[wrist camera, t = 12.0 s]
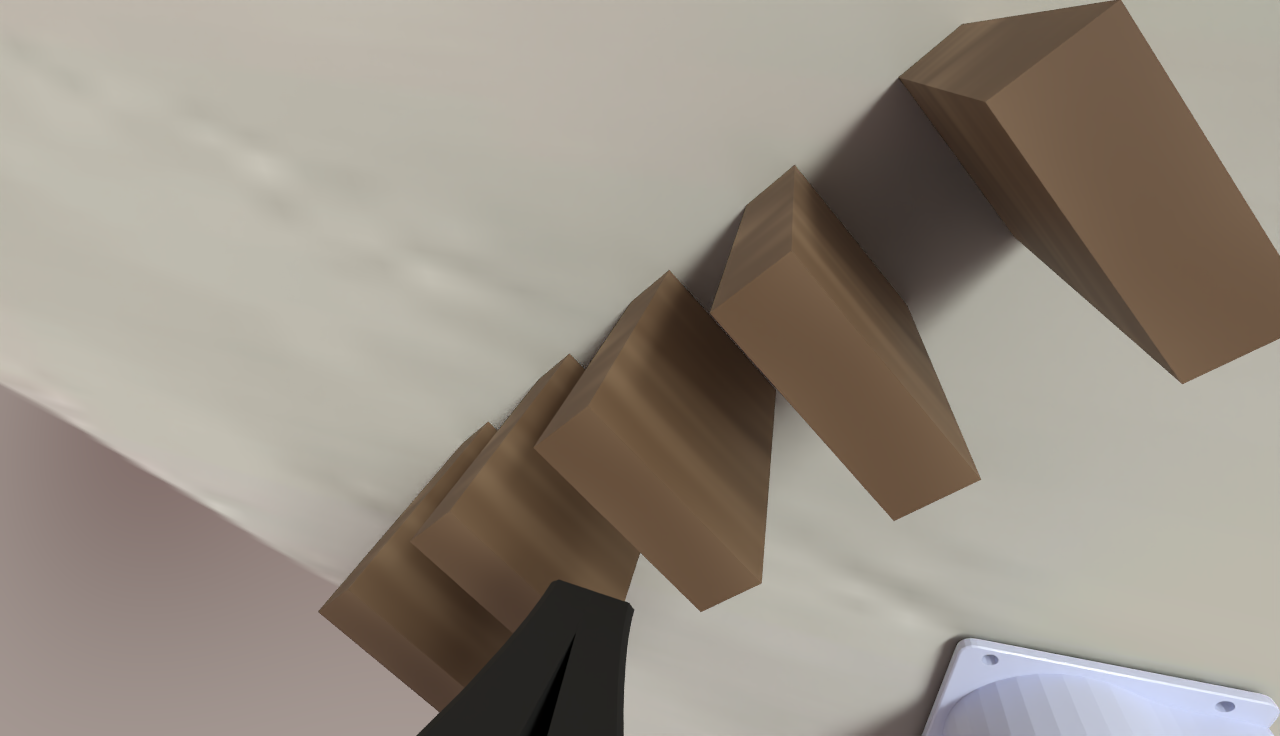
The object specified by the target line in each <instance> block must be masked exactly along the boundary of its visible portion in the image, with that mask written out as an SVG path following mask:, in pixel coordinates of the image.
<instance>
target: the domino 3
mask: <svg viewBox="0 0 1280 736" xmlns="http://www.w3.org/2000/svg"><path fill="white" fill-rule="evenodd" d="M775 396H776V390H775V389H774V388H773V386H772V385H771V384H770V383H769V382H768V381H767V380H766V379H765V377H764V376H763V375H762V374H761V373H760V372H759V371H758V370H757V368H756V367H755V366H754V365H753V364H752V363H751V362H750V361H749V359H748V358H747V357H746V356H745V355H744V354H743V353H742V352H741V350H740V349H739V348H738V347H737V346H736V345H735V344H734V342H733V341H732V340H731V339H730V338H729V337H728V336H727V335H726V333H725V332H724V331H723V330H722V329H721V328H720V327H719V326H718V324H717V323H716V322H715V321H714V320H713V319H712V318H711V317H710V315H709V314H708V313H707V312H706V311H705V310H704V309H703V308H702V306H701V305H700V304H699V303H698V302H697V301H696V300H695V299H694V297H693V296H692V295H691V294H690V293H689V292H688V291H687V290H686V288H685V287H684V286H683V285H682V284H681V283H680V282H679V280H678V279H677V278H676V277H675V276H674V275H673V274H672V273H671V271H670V270H669V271H668V272H666V273H665V274H664V275H663V276H662V277H660V278H659V279H658V280H657V281H656V282H654V283H653V284H652V285H651V286H650V287H648V288H647V289H646V290H645V291H644V292H642V293H641V294H640V295H639V296H638V297H637V298H635V299H634V300H633V301H632V302H631V303H630V305H629V306H628V307H627V309H626V310H625V312H624V313H623V315H622V316H621V318H620V319H619V321H618V322H617V324H616V325H615V327H614V328H613V330H612V331H611V333H610V334H609V336H608V337H607V339H606V340H605V342H604V343H603V345H602V346H601V348H600V349H599V351H598V352H597V354H596V355H595V357H594V358H593V360H592V361H591V362H590V364H589V365H588V367H587V368H586V370H585V371H584V373H583V374H582V376H581V377H580V379H579V380H578V382H577V383H576V385H575V386H574V388H573V389H572V391H571V392H570V394H569V395H568V397H567V398H566V400H565V401H564V403H563V404H562V406H561V407H560V409H559V410H558V412H557V413H556V415H555V416H554V418H553V419H552V420H551V422H550V423H549V425H548V426H547V428H546V429H545V431H544V432H543V434H542V435H541V437H540V438H539V440H538V441H537V443H536V444H535V446H534V447H533V448H534V449H535V450H536V451H537V452H538V453H539V454H540V455H541V456H542V457H543V458H544V459H545V460H546V461H547V462H548V463H549V464H550V465H551V466H552V467H553V468H554V469H556V470H557V471H558V472H559V473H560V474H561V475H562V476H563V477H564V478H565V479H566V480H567V481H568V482H569V483H570V484H571V485H572V486H573V487H574V488H575V489H576V490H577V491H578V492H579V493H580V494H581V495H582V496H583V497H584V498H585V499H586V500H587V501H588V502H589V503H590V504H591V505H592V506H593V507H594V508H595V509H596V510H597V511H598V512H599V513H600V514H601V515H602V516H603V517H605V518H606V519H607V520H608V521H609V522H610V523H611V524H612V525H613V526H614V527H615V528H616V529H617V530H618V531H619V532H620V533H621V534H622V535H623V536H624V537H625V538H626V539H627V540H628V541H629V542H630V543H631V544H632V545H633V546H634V547H635V548H636V549H637V550H638V551H639V552H640V553H641V554H642V555H643V556H644V557H645V558H646V559H647V560H648V561H649V562H650V563H651V564H652V565H653V566H655V567H656V568H657V569H658V570H659V571H660V572H661V573H662V574H663V575H664V576H665V577H666V578H667V579H668V580H669V581H670V582H671V583H672V584H673V585H674V586H675V587H676V588H677V589H678V590H679V591H680V592H681V593H682V594H683V595H684V596H685V597H686V598H687V599H688V600H689V601H690V602H691V603H692V604H693V605H694V606H695V607H696V608H697V609H698V610H699V611H700V612H702V611H704V610H706V609H708V608H710V607H713V606H715V605H717V604H719V603H721V602H723V601H725V600H727V599H729V598H732V597H734V596H736V595H738V594H740V593H742V592H744V591H746V590H749V589H751V588H753V587H755V586H757V585H759V584H761V583H762V571H763V558H764V544H765V531H766V517H767V504H768V490H769V477H770V463H771V450H772V437H773V423H774V410H775Z"/></svg>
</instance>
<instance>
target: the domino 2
mask: <svg viewBox="0 0 1280 736" xmlns="http://www.w3.org/2000/svg"><path fill="white" fill-rule="evenodd" d="M584 371H585V369H584V368H583V367H582V366H581V365H580V364H579V363H578V362H577V361H576V360H575V359H574V358H573V357H572V356H571V355H570V354H568V355H567V356H566V357H565V358H564V359H563V360H561V361H560V362H559V363H558V364H557V365H555V366H554V367H553V368H552V369H551V370H549V371H548V372H547V373H546V374H545V375H543V376H542V377H541V378H540V379H539V380H538V381H537V382H536V384H535V385H534V386H533V387H532V389H531V390H530V391H529V392H528V394H527V395H526V396H525V397H524V399H523V400H522V401H521V402H520V404H519V405H518V406H517V407H516V409H515V410H514V411H513V412H512V414H511V415H510V416H509V417H508V419H507V420H506V421H505V422H504V424H503V425H502V426H501V427H500V429H499V430H498V431H497V432H496V434H495V435H494V436H493V438H492V439H491V440H490V441H489V443H488V444H487V445H486V446H485V448H484V449H483V450H482V451H481V453H480V454H479V455H478V456H477V458H476V459H475V460H474V461H473V463H472V464H471V465H470V466H469V468H468V469H467V470H466V471H465V473H464V474H463V475H462V476H461V478H460V479H459V480H458V481H457V483H456V484H455V485H454V486H453V488H452V489H451V490H450V492H449V493H448V494H447V495H446V497H445V498H444V499H443V500H442V502H441V503H440V504H439V505H438V507H437V508H436V509H435V510H434V512H433V513H432V514H431V515H430V517H429V518H428V519H427V520H426V522H425V523H424V524H423V525H422V527H421V528H420V529H419V530H418V532H417V533H416V534H415V535H414V537H413V538H412V539H411V540H410V542H411V543H412V544H413V545H414V546H415V547H416V548H418V549H419V550H420V551H421V552H422V553H423V554H424V555H425V556H427V557H428V558H429V559H430V560H431V561H432V562H433V563H434V564H436V565H437V566H438V567H439V568H440V569H441V570H442V571H443V572H445V573H446V574H447V575H448V576H449V577H450V578H451V579H452V580H454V581H455V582H456V583H457V584H458V585H459V586H460V587H461V588H463V589H464V590H465V591H466V592H467V593H468V594H469V595H470V596H472V597H473V598H474V599H475V600H476V601H477V602H478V603H479V604H480V605H482V606H483V607H484V608H485V609H486V610H487V611H488V612H489V613H491V614H492V615H493V616H494V617H495V618H496V619H497V620H498V621H500V622H501V623H502V624H503V625H504V626H505V627H506V628H507V629H509V630H510V631H511V632H512V633H514V632H515V631H516V629H517V628H518V627H519V626H520V625H521V623H522V622H523V621H524V620H525V618H526V617H527V616H528V614H529V613H530V612H531V611H532V609H533V608H534V607H535V605H536V604H537V603H538V601H539V600H540V598H541V597H542V596H543V594H544V593H545V591H546V590H547V588H548V587H549V585H550V584H551V582H553V581H556V580H562V581H565V582H568V583H571V584H574V585H577V586H580V587H583V588H586V589H589V590H592V591H595V592H598V593H601V594H604V595H607V596H610V597H613V598H616V599H619V600H622V601H625V598H626V595H627V592H628V589H629V586H630V583H631V580H632V576H633V573H634V570H635V567H636V564H637V561H638V558H639V555H640V552H639V551H638V550H637V549H636V548H635V547H634V546H633V545H632V544H631V543H630V542H629V541H628V540H627V539H626V538H625V537H624V536H623V535H622V534H621V533H620V532H619V531H618V530H617V529H616V528H615V527H614V526H613V525H612V524H611V523H610V522H609V521H608V520H607V519H606V518H605V517H603V516H602V515H601V514H600V513H599V512H598V511H597V510H596V509H595V508H594V507H593V506H592V505H591V504H590V503H589V502H588V501H587V500H586V499H585V498H584V497H583V496H582V495H581V494H580V493H579V492H578V491H577V490H576V489H575V488H574V487H573V486H572V485H571V484H570V483H569V482H568V481H567V480H566V479H565V478H564V477H563V476H562V475H561V474H560V473H559V472H558V471H557V470H556V469H554V468H553V467H552V466H551V465H550V464H549V463H548V462H547V461H546V460H545V459H544V458H543V457H542V456H541V455H540V454H539V453H538V452H537V451H536V450H535V449H534V448H533V447H534V446H535V444H536V443H537V441H538V440H539V438H540V437H541V435H542V434H543V432H544V431H545V429H546V428H547V426H548V425H549V423H550V422H551V420H552V419H553V418H554V416H555V415H556V413H557V412H558V410H559V409H560V407H561V406H562V404H563V403H564V401H565V400H566V398H567V397H568V395H569V394H570V392H571V391H572V389H573V388H574V386H575V385H576V383H577V382H578V380H579V379H580V377H581V376H582V374H583V373H584Z"/></svg>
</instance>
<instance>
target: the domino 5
mask: <svg viewBox="0 0 1280 736" xmlns="http://www.w3.org/2000/svg"><path fill="white" fill-rule="evenodd" d="M899 79H900V80H901V81H902V83H903V84H904V86H905V87H906V88H907V90H908V91H909V93H910V94H911V95H912V97H913V98H914V99H915V101H916V102H917V104H918V105H919V106H920V108H921V109H922V110H923V112H924V113H925V115H926V116H927V117H928V119H929V120H930V121H931V123H932V124H933V126H934V127H935V128H936V130H937V131H938V132H939V134H940V135H941V137H942V138H943V139H944V141H945V142H946V144H947V145H948V146H949V148H950V149H951V150H952V152H953V153H954V155H955V156H956V157H957V159H958V160H959V161H960V163H961V164H962V166H963V167H964V168H965V170H966V171H967V172H968V174H969V175H970V177H971V178H972V179H973V181H974V182H975V183H976V185H977V186H978V188H979V189H980V190H981V192H982V193H983V195H984V196H985V197H986V199H987V200H988V201H989V203H990V204H991V206H992V207H993V208H994V210H995V211H996V212H997V214H998V215H999V217H1000V218H1001V219H1002V221H1003V222H1004V223H1005V225H1006V226H1007V228H1008V229H1009V230H1010V232H1011V233H1012V234H1013V236H1014V237H1015V238H1016V239H1017V240H1019V241H1020V242H1021V243H1022V244H1023V245H1024V246H1025V247H1026V248H1028V249H1029V250H1030V251H1031V252H1032V253H1033V254H1034V255H1036V256H1037V257H1038V258H1039V259H1040V260H1041V261H1042V262H1044V263H1045V264H1046V265H1047V266H1048V267H1049V268H1050V269H1052V270H1053V271H1054V272H1055V273H1056V274H1057V275H1058V276H1060V277H1061V278H1062V279H1063V280H1064V281H1065V282H1066V283H1068V284H1069V285H1070V286H1071V287H1072V288H1073V289H1074V290H1076V291H1077V292H1078V293H1079V294H1080V295H1081V296H1082V297H1084V298H1085V299H1086V300H1087V301H1088V302H1089V303H1090V304H1092V305H1093V306H1094V307H1095V308H1096V309H1097V310H1098V311H1100V312H1101V313H1102V314H1103V315H1104V316H1105V317H1106V318H1107V319H1109V320H1110V321H1111V322H1112V323H1113V324H1114V325H1115V326H1117V327H1118V328H1119V329H1120V330H1121V331H1122V332H1123V333H1125V334H1126V335H1127V336H1128V337H1129V338H1130V339H1131V340H1133V341H1134V342H1135V343H1136V344H1137V345H1138V346H1139V347H1141V348H1142V349H1143V350H1144V351H1145V352H1146V353H1147V354H1149V355H1150V356H1151V357H1152V358H1153V359H1154V360H1155V361H1157V362H1158V363H1159V364H1160V365H1161V366H1162V367H1163V368H1165V369H1166V370H1167V371H1168V372H1169V373H1170V374H1171V375H1173V376H1174V377H1175V378H1176V379H1177V380H1178V381H1179V382H1181V383H1182V384H1184V383H1186V382H1188V381H1190V380H1192V379H1194V378H1197V377H1199V376H1201V375H1203V374H1205V373H1207V372H1209V371H1211V370H1214V369H1216V368H1218V367H1220V366H1222V365H1224V364H1226V363H1228V362H1231V361H1233V360H1235V359H1237V358H1239V357H1241V356H1243V355H1245V354H1248V353H1250V352H1252V351H1254V350H1256V349H1258V348H1260V347H1262V346H1265V345H1267V344H1269V343H1271V342H1273V341H1275V340H1277V339H1279V338H1280V256H1279V254H1278V253H1277V251H1276V249H1275V248H1274V246H1273V244H1272V243H1271V241H1270V240H1269V238H1268V236H1267V235H1266V233H1265V232H1264V230H1263V228H1262V227H1261V225H1260V223H1259V222H1258V220H1257V219H1256V217H1255V215H1254V214H1253V212H1252V211H1251V209H1250V207H1249V206H1248V204H1247V202H1246V201H1245V199H1244V198H1243V196H1242V194H1241V193H1240V191H1239V190H1238V188H1237V186H1236V185H1235V183H1234V182H1233V180H1232V178H1231V177H1230V175H1229V173H1228V172H1227V170H1226V169H1225V167H1224V165H1223V164H1222V162H1221V161H1220V159H1219V157H1218V156H1217V154H1216V152H1215V151H1214V149H1213V148H1212V146H1211V144H1210V143H1209V141H1208V140H1207V138H1206V136H1205V135H1204V133H1203V131H1202V130H1201V128H1200V127H1199V125H1198V123H1197V122H1196V120H1195V119H1194V117H1193V115H1192V114H1191V112H1190V110H1189V109H1188V107H1187V106H1186V104H1185V102H1184V101H1183V99H1182V98H1181V96H1180V94H1179V93H1178V91H1177V90H1176V88H1175V86H1174V85H1173V83H1172V81H1171V80H1170V78H1169V77H1168V75H1167V73H1166V72H1165V70H1164V69H1163V67H1162V65H1161V64H1160V62H1159V60H1158V59H1157V57H1156V56H1155V54H1154V52H1153V51H1152V49H1151V48H1150V46H1149V44H1148V43H1147V41H1146V39H1145V38H1144V36H1143V35H1142V33H1141V31H1140V30H1139V28H1138V27H1137V25H1136V23H1135V22H1134V20H1133V19H1132V17H1131V15H1130V14H1129V12H1128V10H1127V9H1126V7H1125V6H1124V4H1123V2H1122V1H1121V0H1113V1H1107V2H1100V3H1094V4H1088V5H1081V6H1075V7H1069V8H1062V9H1056V10H1050V11H1043V12H1037V13H1031V14H1024V15H1018V16H1011V17H1005V18H999V19H992V20H986V21H980V22H973V23H967V24H962V25H961V26H959V27H958V28H957V29H956V30H955V31H953V32H952V33H951V34H950V35H949V36H948V37H946V38H945V39H944V40H943V41H942V42H940V43H939V44H938V45H937V46H936V47H934V48H933V49H932V50H931V51H930V52H928V53H927V54H926V55H925V56H924V57H922V58H921V59H920V60H919V61H918V62H916V63H915V64H914V65H913V66H912V67H910V68H909V69H908V70H907V71H906V72H904V73H903V74H902V75H901V76H900V77H899Z"/></svg>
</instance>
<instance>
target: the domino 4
mask: <svg viewBox="0 0 1280 736" xmlns="http://www.w3.org/2000/svg"><path fill="white" fill-rule="evenodd" d="M710 314H711V315H712V316H713V317H714V318H715V320H716V321H717V322H718V323H719V324H720V325H721V326H722V327H723V329H724V330H725V331H726V332H727V333H728V334H729V335H730V337H731V338H732V339H733V340H734V341H735V342H736V343H737V344H738V346H739V347H740V348H741V349H742V350H743V351H744V352H745V353H746V355H747V356H748V357H749V358H750V359H751V360H752V361H753V362H754V364H755V365H756V366H757V367H758V368H759V369H760V370H761V372H762V373H763V374H764V375H765V376H766V377H767V378H768V379H769V381H770V382H771V383H772V384H773V385H774V386H775V387H776V388H777V390H778V391H779V392H780V393H781V394H782V395H783V396H784V397H785V399H786V400H787V401H788V402H789V403H790V404H791V405H792V407H793V408H794V409H795V410H796V411H797V412H798V413H799V414H800V416H801V417H802V418H803V419H804V420H805V421H806V422H807V423H808V425H809V426H810V427H811V428H812V429H813V430H814V431H815V432H816V434H817V435H818V436H819V437H820V438H821V439H822V440H823V442H824V443H825V444H826V445H827V446H828V447H829V448H830V449H831V451H832V452H833V453H834V454H835V455H836V456H837V457H838V458H839V460H840V461H841V462H842V463H843V464H844V465H845V466H846V467H847V469H848V470H849V471H850V472H851V473H852V474H853V475H854V477H855V478H856V479H857V480H858V481H859V482H860V483H861V484H862V486H863V487H864V488H865V489H866V490H867V491H868V492H869V493H870V495H871V496H872V497H873V498H874V499H875V500H876V501H877V502H878V504H879V505H880V506H881V507H882V508H883V509H884V510H885V511H886V513H887V514H888V515H889V516H890V517H891V518H892V519H893V521H895V520H897V519H899V518H901V517H903V516H905V515H908V514H910V513H912V512H914V511H916V510H918V509H920V508H922V507H924V506H927V505H929V504H931V503H933V502H935V501H937V500H939V499H941V498H943V497H945V496H948V495H950V494H952V493H954V492H956V491H958V490H960V489H962V488H964V487H967V486H969V485H971V484H973V483H975V482H977V481H979V480H981V478H980V476H979V474H978V471H977V469H976V466H975V464H974V462H973V459H972V457H971V455H970V452H969V450H968V448H967V445H966V443H965V441H964V438H963V436H962V434H961V431H960V429H959V426H958V424H957V422H956V419H955V417H954V415H953V412H952V410H951V408H950V405H949V403H948V401H947V398H946V396H945V394H944V391H943V389H942V386H941V384H940V382H939V379H938V377H937V375H936V372H935V370H934V368H933V365H932V363H931V361H930V358H929V356H928V354H927V351H926V349H925V346H924V344H923V342H922V339H921V337H920V335H919V332H918V330H917V328H916V325H915V323H914V321H913V318H912V316H911V313H910V311H909V309H908V306H907V305H906V304H905V302H904V301H903V300H902V299H901V297H900V296H899V295H898V294H897V292H896V291H895V290H894V289H893V287H892V286H891V285H890V284H889V282H888V281H887V280H886V279H885V277H884V276H883V275H882V274H881V272H880V271H879V270H878V269H877V267H876V266H875V265H874V264H873V262H872V261H871V260H870V259H869V257H868V256H867V255H866V254H865V252H864V251H863V250H862V248H861V247H860V246H859V245H858V243H857V242H856V241H855V240H854V238H853V237H852V236H851V235H850V233H849V232H848V231H847V230H846V228H845V227H844V226H843V225H842V223H841V222H840V221H839V220H838V218H837V217H836V216H835V215H834V213H833V212H832V211H831V210H830V208H829V207H828V206H827V205H826V203H825V202H824V201H823V200H822V198H821V197H820V196H819V195H818V193H817V192H816V191H815V190H814V188H813V187H812V186H811V185H810V183H809V182H808V181H807V180H806V178H805V177H804V176H803V175H802V173H801V172H800V171H799V170H798V168H797V167H796V166H795V165H794V166H793V167H792V168H790V169H789V170H788V171H787V172H786V173H784V174H783V175H782V176H781V177H780V178H778V179H777V180H776V181H775V182H774V183H772V184H771V185H770V186H769V187H768V188H767V189H765V190H764V191H763V192H762V193H761V194H759V195H758V196H757V197H756V198H755V199H753V200H752V201H751V202H750V203H749V204H747V205H746V208H745V211H744V214H743V217H742V220H741V223H740V226H739V229H738V232H737V235H736V238H735V240H734V243H733V246H732V249H731V252H730V255H729V258H728V261H727V264H726V267H725V270H724V273H723V276H722V279H721V281H720V284H719V287H718V290H717V293H716V296H715V299H714V302H713V305H712V308H711V311H710Z"/></svg>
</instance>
